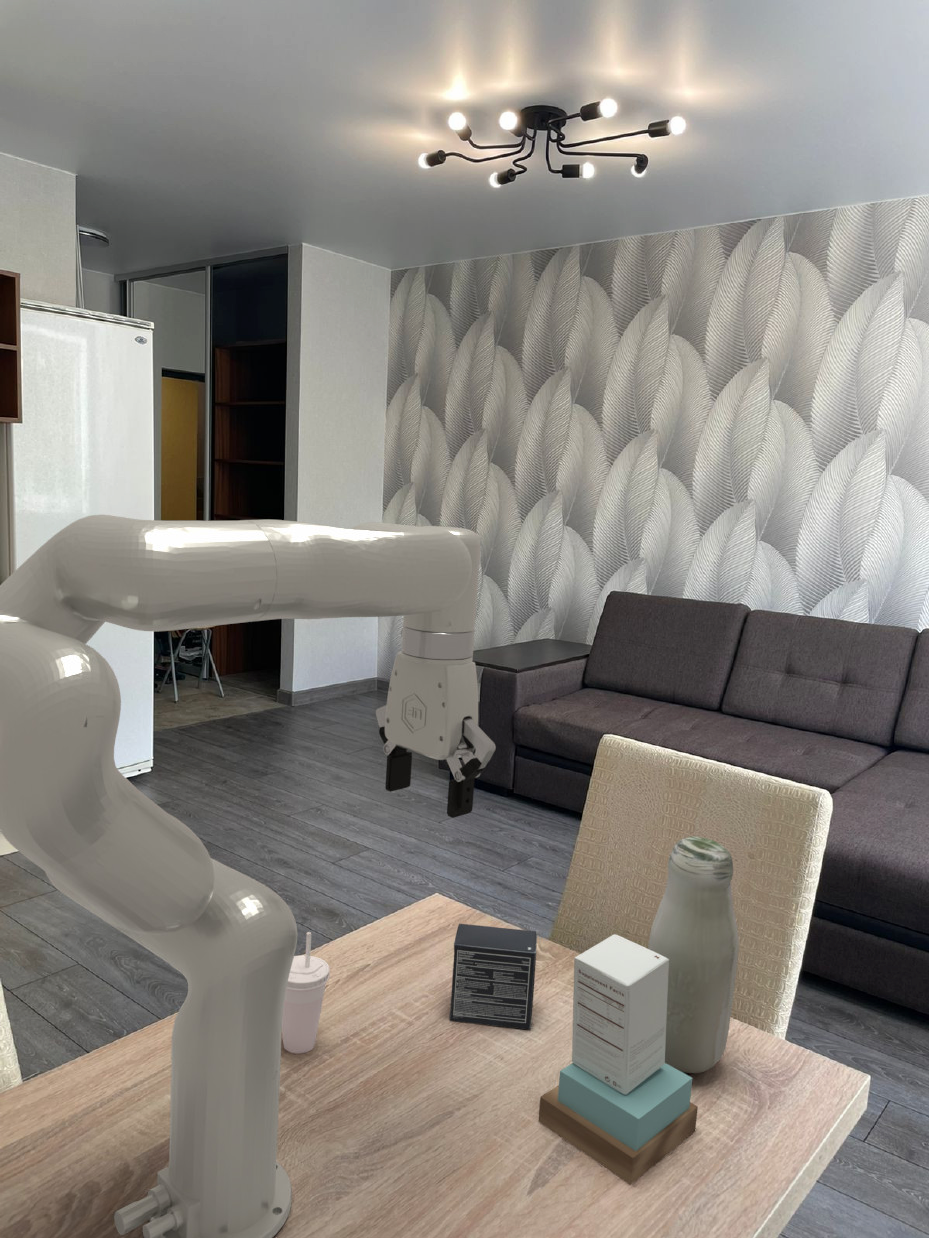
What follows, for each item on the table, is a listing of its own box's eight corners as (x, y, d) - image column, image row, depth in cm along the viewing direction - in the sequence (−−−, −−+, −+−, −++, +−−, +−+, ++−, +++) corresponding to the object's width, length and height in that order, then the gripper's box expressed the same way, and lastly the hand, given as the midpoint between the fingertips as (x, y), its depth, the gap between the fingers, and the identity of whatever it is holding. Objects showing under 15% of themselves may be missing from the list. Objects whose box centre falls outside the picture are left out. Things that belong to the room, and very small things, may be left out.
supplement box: (611, 1034, 105) (615, 931, 103) (666, 1065, 100) (672, 957, 97) (569, 1063, 100) (572, 955, 98) (624, 1097, 95) (629, 985, 92)
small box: (532, 1003, 123) (539, 928, 121) (531, 1031, 116) (538, 953, 115) (453, 994, 124) (458, 920, 122) (447, 1021, 117) (453, 943, 116)
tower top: (635, 1151, 92) (638, 1118, 92) (557, 1100, 99) (560, 1070, 98) (689, 1107, 99) (692, 1077, 99) (612, 1063, 106) (615, 1035, 106)
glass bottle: (734, 1057, 114) (759, 840, 110) (706, 1100, 105) (733, 866, 101) (658, 1027, 119) (679, 819, 115) (625, 1066, 110) (648, 842, 106)
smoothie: (331, 1055, 109) (337, 943, 107) (277, 1064, 106) (281, 950, 104) (319, 1024, 115) (324, 918, 113) (267, 1032, 112) (271, 924, 110)
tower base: (629, 1190, 92) (633, 1157, 91) (537, 1126, 100) (540, 1096, 99) (694, 1136, 100) (697, 1106, 100) (604, 1081, 108) (607, 1053, 108)
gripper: (357, 634, 100) (349, 785, 103) (471, 662, 89) (459, 833, 91) (409, 629, 106) (400, 774, 108) (523, 656, 94) (510, 817, 96)
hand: (427, 801), depth 100 cm, fingers open, 9 cm apart
